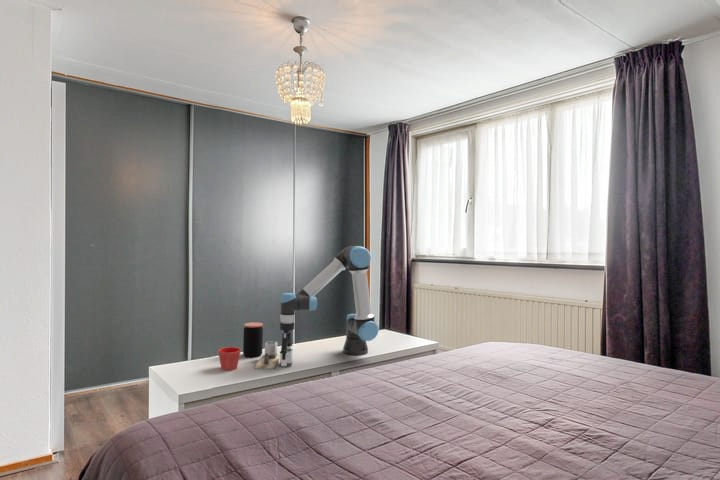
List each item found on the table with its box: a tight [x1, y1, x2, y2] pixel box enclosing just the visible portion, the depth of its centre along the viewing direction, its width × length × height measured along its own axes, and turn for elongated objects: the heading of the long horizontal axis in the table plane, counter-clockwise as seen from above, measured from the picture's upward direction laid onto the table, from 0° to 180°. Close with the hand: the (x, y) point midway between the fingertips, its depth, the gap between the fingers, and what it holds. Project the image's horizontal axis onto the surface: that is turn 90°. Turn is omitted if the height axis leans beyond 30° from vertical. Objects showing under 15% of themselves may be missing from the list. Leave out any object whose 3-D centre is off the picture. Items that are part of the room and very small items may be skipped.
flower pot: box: [218, 346, 241, 372], centre depth 218 cm, size 11×11×10 cm
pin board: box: [254, 352, 280, 370], centre depth 230 cm, size 10×20×7 cm, turn 1°
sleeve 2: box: [279, 348, 294, 367], centre depth 227 cm, size 6×6×8 cm
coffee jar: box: [242, 321, 264, 359], centre depth 243 cm, size 11×11×18 cm
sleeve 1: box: [264, 340, 278, 359], centre depth 236 cm, size 6×6×8 cm
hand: (286, 361), depth 227 cm, fingers open, 13 cm apart
